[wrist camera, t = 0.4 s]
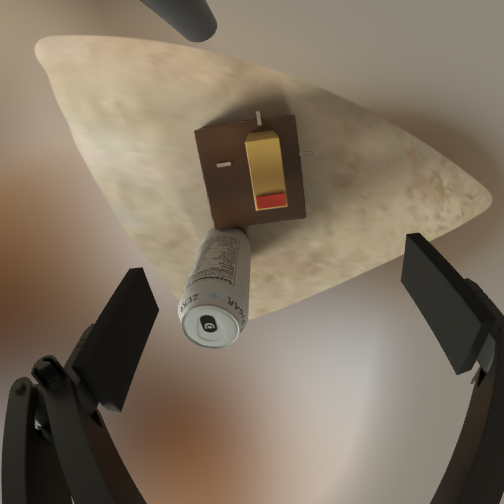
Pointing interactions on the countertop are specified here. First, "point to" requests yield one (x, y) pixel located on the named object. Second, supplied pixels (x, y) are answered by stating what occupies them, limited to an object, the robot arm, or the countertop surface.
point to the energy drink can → (217, 290)
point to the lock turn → (266, 170)
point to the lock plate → (248, 171)
